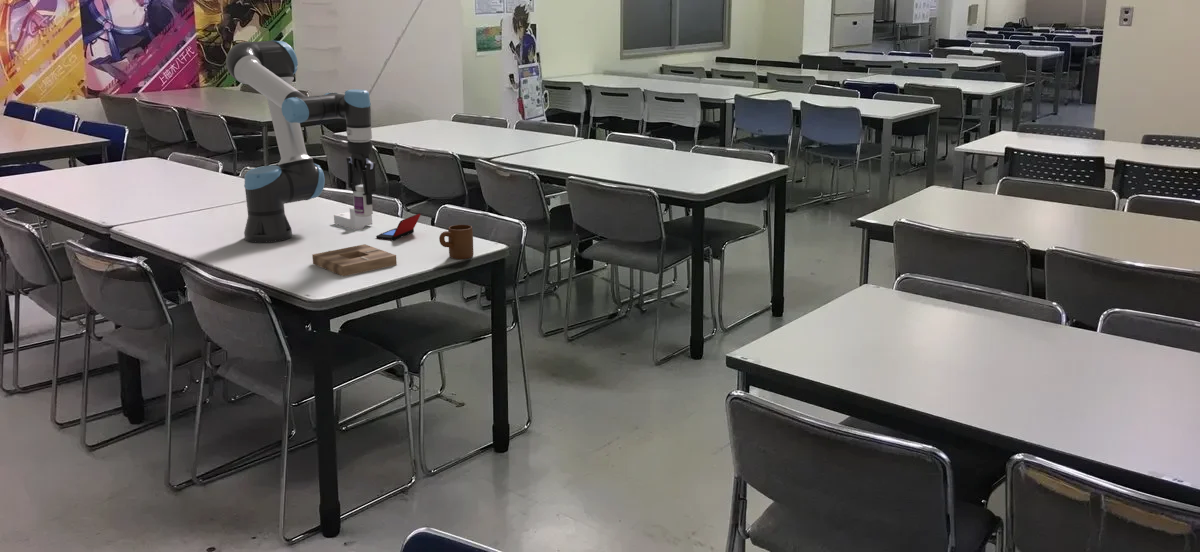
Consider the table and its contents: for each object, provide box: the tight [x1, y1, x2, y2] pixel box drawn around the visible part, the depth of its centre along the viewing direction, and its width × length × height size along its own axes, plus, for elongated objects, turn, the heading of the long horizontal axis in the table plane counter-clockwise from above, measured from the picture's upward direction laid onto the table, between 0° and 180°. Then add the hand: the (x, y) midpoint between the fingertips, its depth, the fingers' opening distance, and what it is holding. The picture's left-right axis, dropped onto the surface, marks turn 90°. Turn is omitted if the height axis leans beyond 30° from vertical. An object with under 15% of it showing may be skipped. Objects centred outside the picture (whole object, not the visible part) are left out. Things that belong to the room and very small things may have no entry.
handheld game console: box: [375, 213, 421, 242], centre depth 326 cm, size 12×11×7 cm
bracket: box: [333, 207, 373, 231], centre depth 341 cm, size 13×7×8 cm, turn 47°
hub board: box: [312, 244, 398, 277], centre depth 292 cm, size 18×18×3 cm
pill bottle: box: [353, 184, 373, 217], centre depth 307 cm, size 5×5×10 cm
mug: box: [439, 224, 474, 260], centre depth 299 cm, size 12×8×9 cm, turn 138°
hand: (363, 212), depth 308 cm, fingers closed on pill bottle, 5 cm apart
